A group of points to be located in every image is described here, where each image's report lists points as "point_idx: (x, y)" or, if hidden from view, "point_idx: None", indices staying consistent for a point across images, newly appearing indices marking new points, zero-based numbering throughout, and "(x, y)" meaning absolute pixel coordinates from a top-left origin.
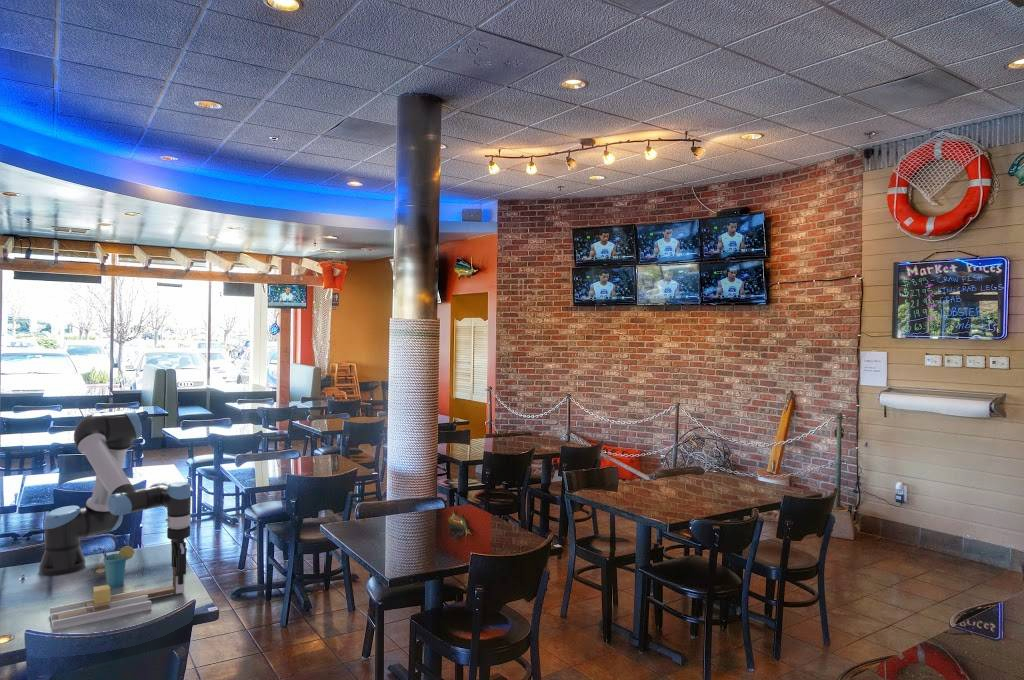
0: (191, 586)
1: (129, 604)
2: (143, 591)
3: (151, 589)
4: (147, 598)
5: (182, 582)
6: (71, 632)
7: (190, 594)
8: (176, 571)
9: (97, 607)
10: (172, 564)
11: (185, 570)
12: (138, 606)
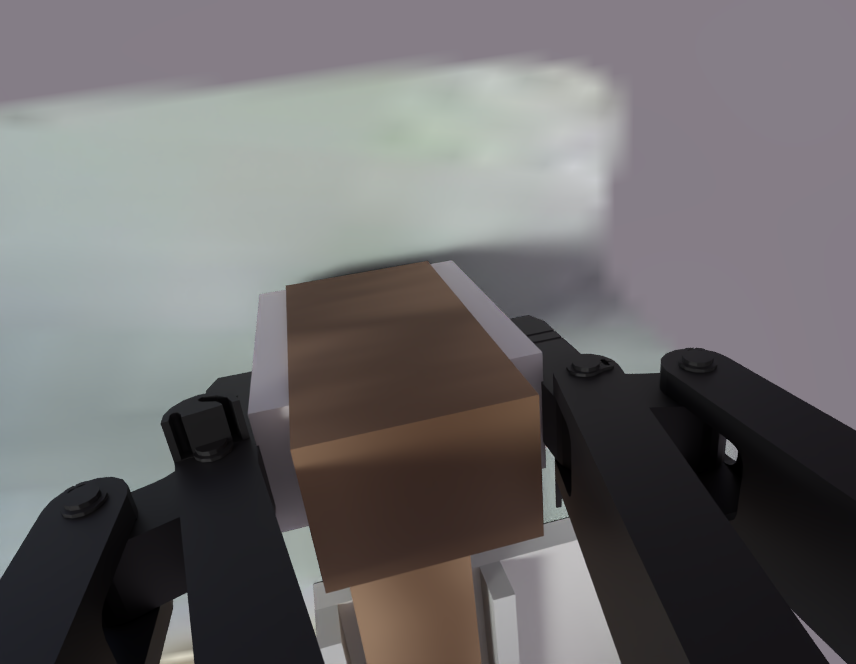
0: (164, 148)
1: (523, 660)
2: (387, 643)
3: (363, 591)
4: (506, 575)
5: (545, 332)
6: None
7: (452, 183)
8: (534, 506)
9: None
10: (167, 630)
11: (768, 390)
12: None
